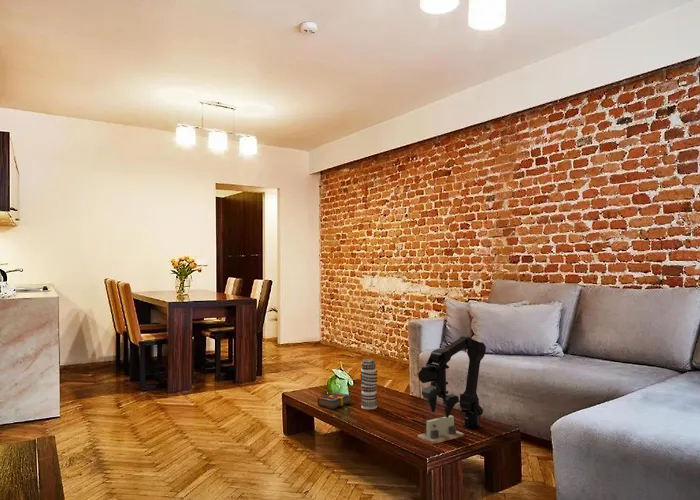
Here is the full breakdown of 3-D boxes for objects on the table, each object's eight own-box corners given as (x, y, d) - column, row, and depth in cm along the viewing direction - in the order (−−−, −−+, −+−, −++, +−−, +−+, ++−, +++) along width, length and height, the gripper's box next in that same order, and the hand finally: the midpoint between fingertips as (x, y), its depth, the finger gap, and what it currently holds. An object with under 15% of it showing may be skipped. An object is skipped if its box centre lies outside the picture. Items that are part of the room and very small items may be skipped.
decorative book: (317, 406, 273) (317, 396, 274) (336, 399, 286) (336, 390, 286) (332, 409, 266) (332, 400, 266) (352, 402, 279) (352, 393, 279)
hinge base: (448, 429, 232) (448, 420, 232) (463, 436, 223) (463, 426, 223) (417, 437, 222) (417, 428, 222) (432, 444, 214) (432, 434, 214)
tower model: (378, 409, 264) (377, 361, 265) (360, 409, 264) (359, 361, 265) (377, 404, 273) (376, 358, 274) (360, 404, 274) (359, 358, 274)
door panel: (450, 430, 227) (450, 415, 227) (455, 432, 224) (455, 416, 225) (426, 436, 220) (426, 420, 220) (431, 438, 217) (430, 422, 217)
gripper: (412, 377, 227) (412, 412, 227) (439, 386, 211) (440, 423, 211) (431, 374, 233) (431, 408, 232) (459, 382, 217) (460, 419, 216)
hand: (440, 414), depth 223 cm, fingers open, 9 cm apart
